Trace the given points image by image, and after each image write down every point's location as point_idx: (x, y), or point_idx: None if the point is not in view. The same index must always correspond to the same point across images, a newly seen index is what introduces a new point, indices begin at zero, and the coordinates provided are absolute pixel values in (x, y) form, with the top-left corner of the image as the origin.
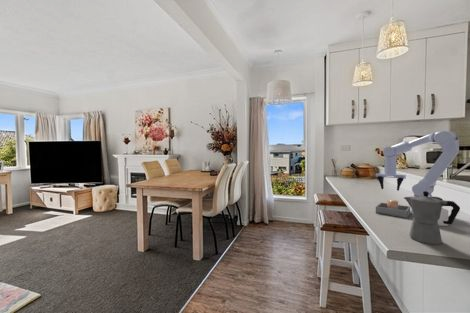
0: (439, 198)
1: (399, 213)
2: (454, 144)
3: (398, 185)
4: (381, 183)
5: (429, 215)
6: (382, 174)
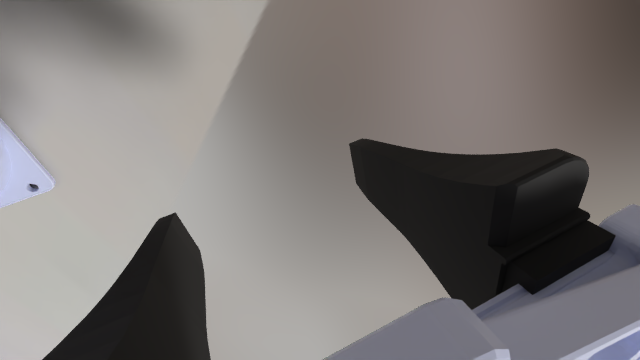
0: None
1: None
2: None
3: (130, 273)
4: (412, 161)
5: None
6: (621, 317)
